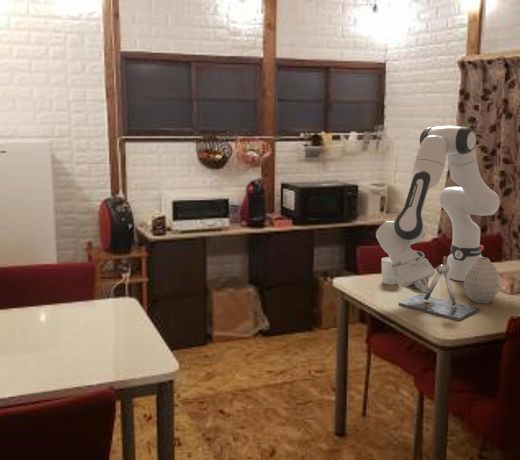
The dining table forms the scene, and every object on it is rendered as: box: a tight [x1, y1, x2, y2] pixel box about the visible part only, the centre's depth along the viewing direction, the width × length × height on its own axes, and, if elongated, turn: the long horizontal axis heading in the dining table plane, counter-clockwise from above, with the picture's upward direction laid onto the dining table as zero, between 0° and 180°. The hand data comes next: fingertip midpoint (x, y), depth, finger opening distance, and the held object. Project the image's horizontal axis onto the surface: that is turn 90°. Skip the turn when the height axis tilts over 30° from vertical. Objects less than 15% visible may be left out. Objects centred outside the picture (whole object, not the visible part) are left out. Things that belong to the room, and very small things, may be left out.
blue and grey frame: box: [398, 256, 480, 322], centre depth 219 cm, size 15×24×19 cm, turn 45°
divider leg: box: [424, 264, 447, 300], centre depth 219 cm, size 2×3×15 cm, turn 45°
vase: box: [463, 256, 501, 304], centre depth 227 cm, size 13×13×17 cm
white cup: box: [381, 256, 399, 286], centre depth 252 cm, size 8×8×10 cm
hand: (426, 291), depth 222 cm, fingers closed, pressing on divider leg
